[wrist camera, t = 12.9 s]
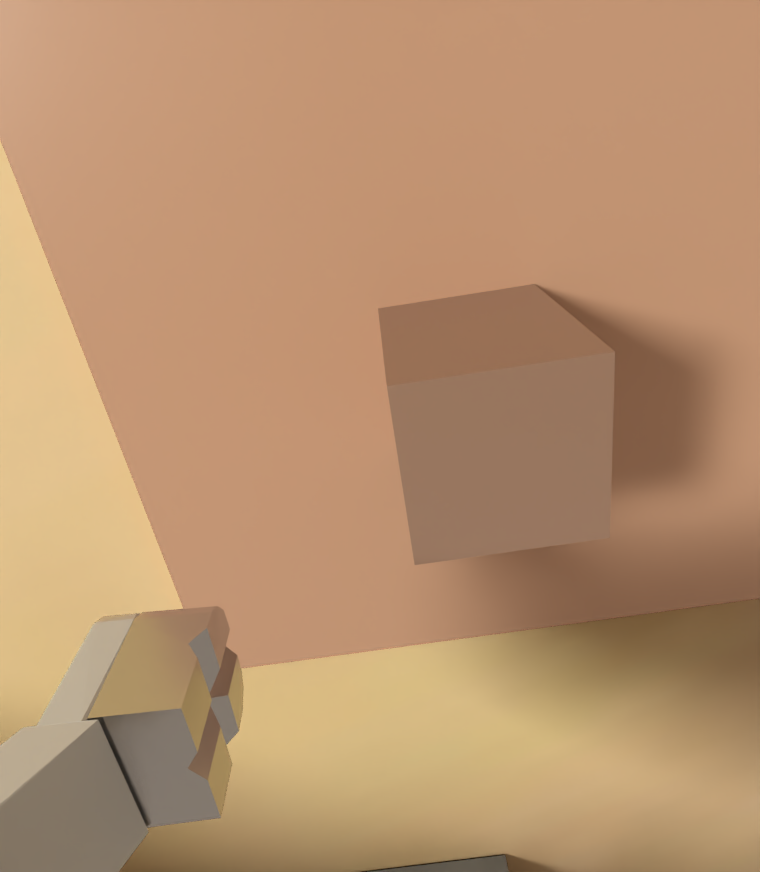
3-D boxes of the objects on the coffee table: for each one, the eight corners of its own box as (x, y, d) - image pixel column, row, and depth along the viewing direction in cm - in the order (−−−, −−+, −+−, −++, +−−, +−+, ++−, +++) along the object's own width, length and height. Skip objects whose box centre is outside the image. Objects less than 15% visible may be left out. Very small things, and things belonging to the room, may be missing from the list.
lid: (-20, 7, 10) (-325, -98, 6) (873, -155, 9) (1332, -414, 5) (216, 643, 17) (164, 832, 12) (752, 570, 16) (905, 739, 12)
